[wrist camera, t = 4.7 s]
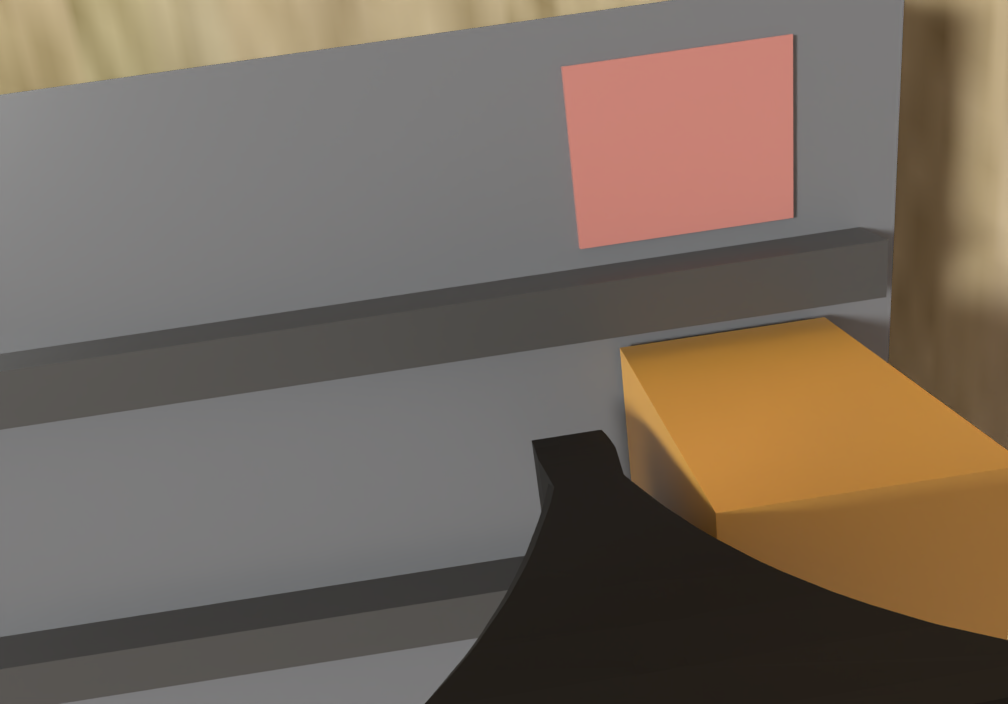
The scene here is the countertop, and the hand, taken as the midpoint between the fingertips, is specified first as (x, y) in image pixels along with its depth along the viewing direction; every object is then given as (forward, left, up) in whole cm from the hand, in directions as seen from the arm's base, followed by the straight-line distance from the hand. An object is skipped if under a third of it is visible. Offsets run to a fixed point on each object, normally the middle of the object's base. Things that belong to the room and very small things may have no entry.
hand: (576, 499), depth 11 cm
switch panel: (0, +4, -5) cm, 6 cm away
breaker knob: (0, -2, -1) cm, 3 cm away
